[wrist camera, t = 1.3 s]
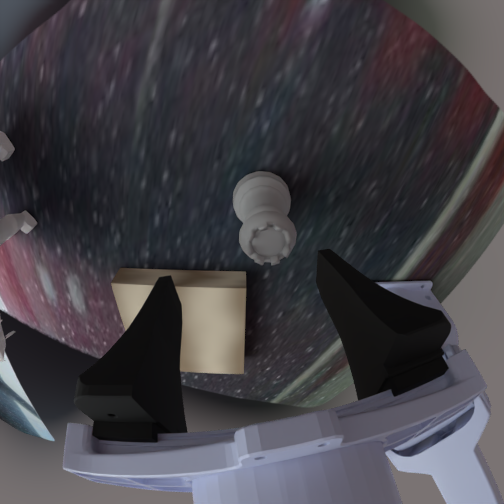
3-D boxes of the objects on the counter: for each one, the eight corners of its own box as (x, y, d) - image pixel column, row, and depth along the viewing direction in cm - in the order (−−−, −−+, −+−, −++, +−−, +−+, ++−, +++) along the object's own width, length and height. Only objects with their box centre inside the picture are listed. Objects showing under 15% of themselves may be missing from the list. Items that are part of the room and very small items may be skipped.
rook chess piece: (291, 219, 23) (311, 274, 16) (237, 226, 24) (234, 284, 17) (286, 166, 21) (308, 201, 14) (228, 173, 21) (220, 213, 14)
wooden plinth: (245, 271, 26) (246, 288, 24) (243, 357, 32) (243, 373, 30) (120, 267, 25) (110, 283, 23) (143, 351, 31) (139, 366, 29)
